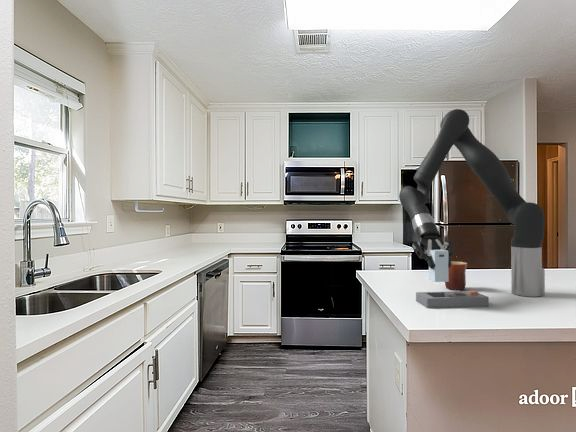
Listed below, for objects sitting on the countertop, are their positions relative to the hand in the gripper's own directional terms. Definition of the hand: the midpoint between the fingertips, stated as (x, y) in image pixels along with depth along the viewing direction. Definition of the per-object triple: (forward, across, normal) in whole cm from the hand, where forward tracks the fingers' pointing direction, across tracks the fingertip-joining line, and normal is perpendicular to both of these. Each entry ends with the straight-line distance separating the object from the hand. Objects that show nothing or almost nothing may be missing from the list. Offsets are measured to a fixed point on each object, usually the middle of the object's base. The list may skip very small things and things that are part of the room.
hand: (441, 267), depth 116 cm
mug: (-8, +15, +26) cm, 31 cm away
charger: (+2, 0, +5) cm, 5 cm away
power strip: (+8, +4, +10) cm, 13 cm away
